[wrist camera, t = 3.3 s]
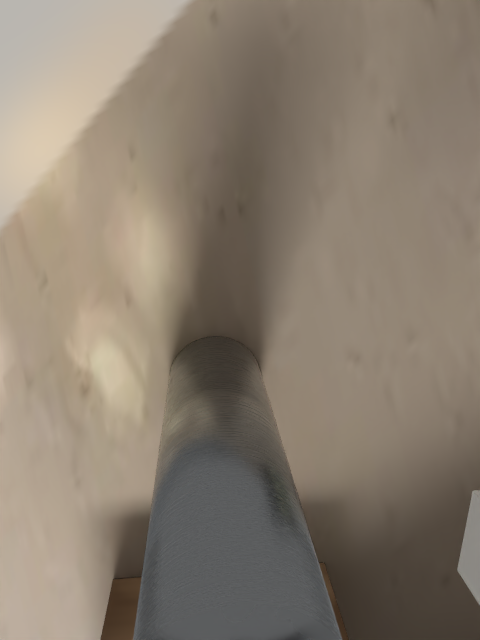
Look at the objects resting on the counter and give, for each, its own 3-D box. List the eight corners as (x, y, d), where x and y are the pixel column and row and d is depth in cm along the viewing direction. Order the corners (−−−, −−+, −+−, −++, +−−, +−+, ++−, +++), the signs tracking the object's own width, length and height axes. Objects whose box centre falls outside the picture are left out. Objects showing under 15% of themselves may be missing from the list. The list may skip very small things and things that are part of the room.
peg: (260, 334, 22) (357, 594, 8) (259, 416, 23) (343, 750, 10) (166, 338, 21) (115, 615, 8) (172, 421, 23) (135, 773, 9)
